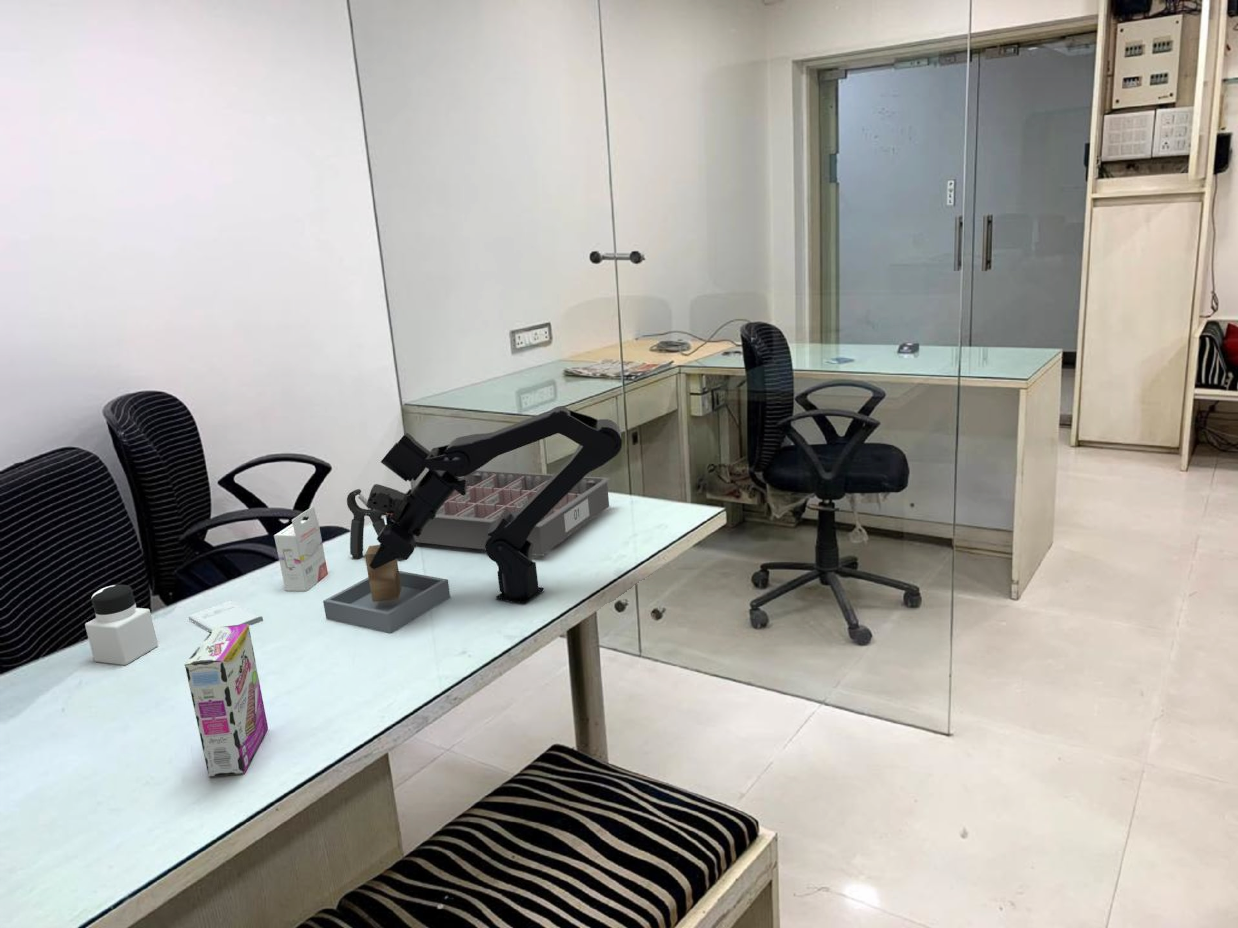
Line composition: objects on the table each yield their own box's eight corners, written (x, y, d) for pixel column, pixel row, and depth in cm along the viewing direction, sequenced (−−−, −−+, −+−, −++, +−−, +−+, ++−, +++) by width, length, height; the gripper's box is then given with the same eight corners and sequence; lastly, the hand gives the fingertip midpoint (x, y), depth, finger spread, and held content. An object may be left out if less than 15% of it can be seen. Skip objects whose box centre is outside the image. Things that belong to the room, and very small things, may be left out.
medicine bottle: (159, 645, 158) (144, 581, 155) (126, 665, 151) (109, 599, 148) (127, 642, 160) (112, 579, 157) (93, 662, 154) (76, 596, 150)
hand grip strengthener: (403, 561, 188) (392, 492, 184) (350, 559, 191) (338, 491, 187) (408, 557, 190) (398, 489, 186) (356, 555, 193) (344, 488, 189)
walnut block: (401, 589, 167) (394, 543, 165) (398, 599, 163) (390, 552, 161) (376, 591, 167) (369, 545, 165) (372, 601, 163) (364, 554, 160)
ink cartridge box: (306, 574, 185) (293, 505, 181) (328, 574, 184) (316, 505, 180) (283, 591, 177) (269, 520, 173) (306, 591, 176) (293, 519, 172)
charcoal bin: (450, 596, 168) (447, 579, 167) (390, 633, 155) (387, 614, 154) (387, 585, 176) (385, 568, 175) (326, 618, 163) (322, 600, 162)
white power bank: (219, 640, 159) (189, 623, 168) (264, 623, 165) (233, 607, 173) (217, 632, 159) (188, 615, 167) (262, 615, 165) (231, 599, 173)
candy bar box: (247, 774, 118) (222, 660, 114) (207, 779, 118) (181, 665, 113) (271, 727, 129) (249, 621, 124) (235, 731, 129) (212, 625, 124)
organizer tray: (544, 563, 181) (539, 516, 178) (385, 546, 198) (378, 502, 195) (614, 511, 209) (610, 469, 206) (468, 499, 226) (463, 461, 223)
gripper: (397, 455, 168) (346, 518, 170) (381, 485, 150) (324, 555, 152) (446, 492, 171) (395, 553, 173) (436, 525, 153) (379, 593, 155)
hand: (374, 562), depth 163 cm, fingers closed on walnut block, 4 cm apart
